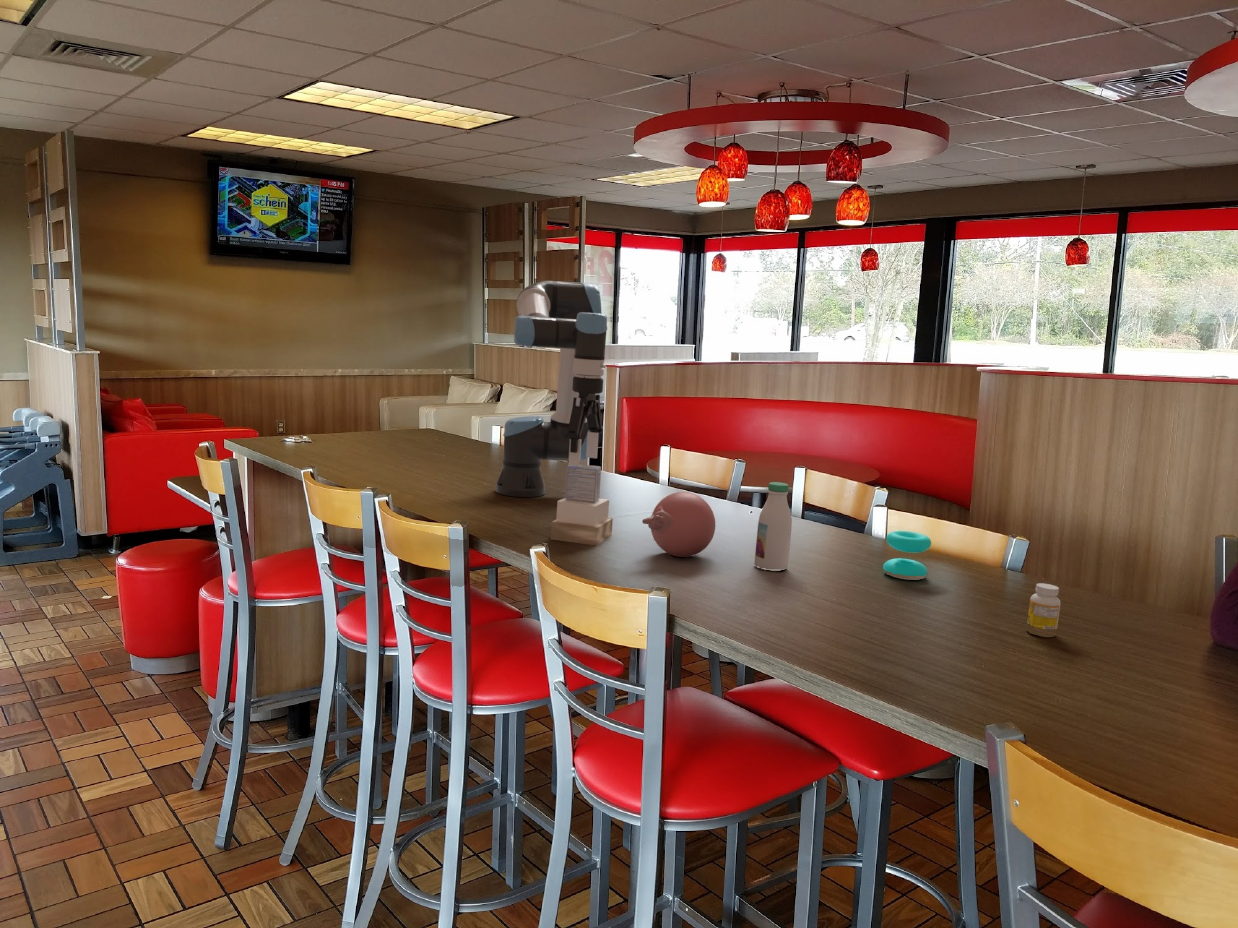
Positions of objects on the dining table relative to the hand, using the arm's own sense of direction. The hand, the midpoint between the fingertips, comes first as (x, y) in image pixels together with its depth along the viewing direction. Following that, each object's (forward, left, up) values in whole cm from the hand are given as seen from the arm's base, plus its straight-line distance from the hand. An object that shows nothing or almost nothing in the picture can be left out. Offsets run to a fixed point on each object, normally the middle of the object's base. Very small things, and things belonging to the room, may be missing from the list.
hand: (583, 461), depth 229 cm
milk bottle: (+5, +49, -19) cm, 53 cm away
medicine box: (0, +1, -10) cm, 10 cm away
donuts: (-4, +79, -19) cm, 81 cm away
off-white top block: (0, +1, -15) cm, 15 cm away
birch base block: (0, +1, -20) cm, 20 cm away
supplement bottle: (+27, +104, -19) cm, 109 cm away
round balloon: (+7, +26, -19) cm, 33 cm away
